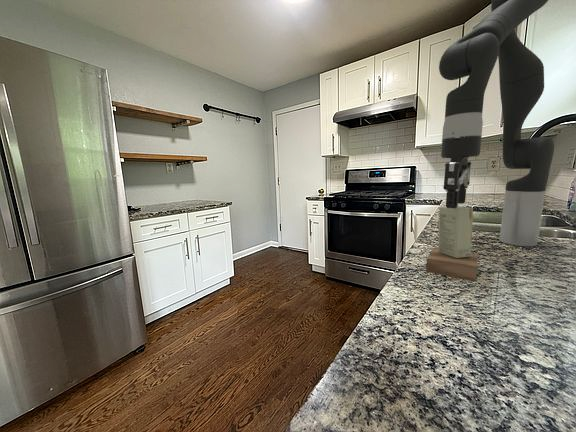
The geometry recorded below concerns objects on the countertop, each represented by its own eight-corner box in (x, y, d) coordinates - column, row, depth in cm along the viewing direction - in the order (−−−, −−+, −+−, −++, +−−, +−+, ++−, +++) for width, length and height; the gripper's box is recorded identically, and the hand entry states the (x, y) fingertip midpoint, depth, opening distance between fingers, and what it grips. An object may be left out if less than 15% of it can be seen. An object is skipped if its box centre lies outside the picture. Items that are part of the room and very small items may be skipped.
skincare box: (471, 257, 61) (475, 207, 59) (456, 259, 60) (459, 209, 58) (450, 249, 67) (453, 204, 65) (436, 251, 66) (438, 206, 64)
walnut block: (432, 261, 70) (433, 247, 69) (476, 268, 64) (478, 254, 63) (425, 273, 62) (426, 258, 62) (475, 283, 56) (477, 266, 55)
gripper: (450, 139, 65) (445, 201, 68) (434, 136, 55) (429, 208, 58) (486, 136, 60) (479, 202, 63) (475, 131, 50) (468, 211, 53)
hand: (455, 205), depth 60 cm, fingers open, 8 cm apart
